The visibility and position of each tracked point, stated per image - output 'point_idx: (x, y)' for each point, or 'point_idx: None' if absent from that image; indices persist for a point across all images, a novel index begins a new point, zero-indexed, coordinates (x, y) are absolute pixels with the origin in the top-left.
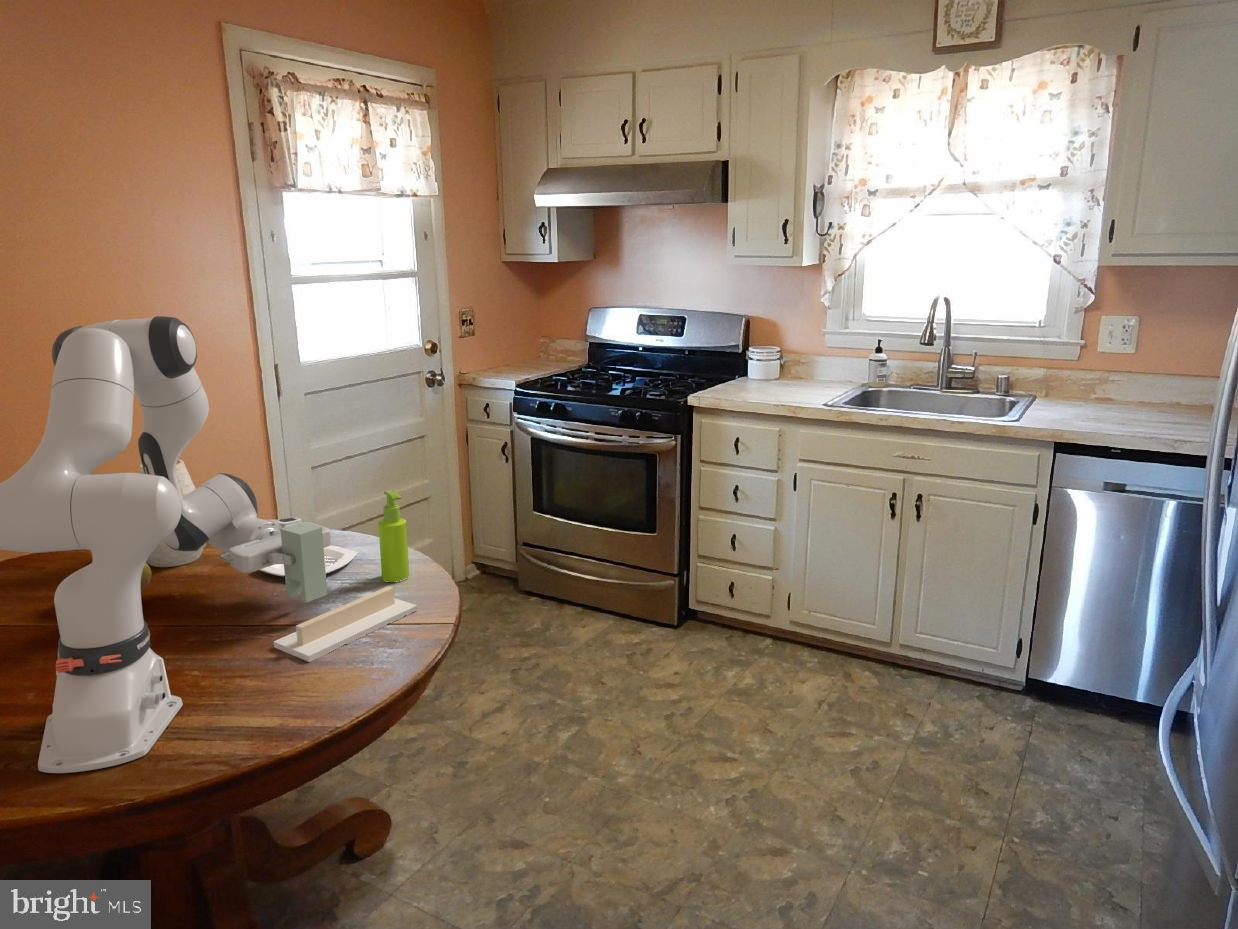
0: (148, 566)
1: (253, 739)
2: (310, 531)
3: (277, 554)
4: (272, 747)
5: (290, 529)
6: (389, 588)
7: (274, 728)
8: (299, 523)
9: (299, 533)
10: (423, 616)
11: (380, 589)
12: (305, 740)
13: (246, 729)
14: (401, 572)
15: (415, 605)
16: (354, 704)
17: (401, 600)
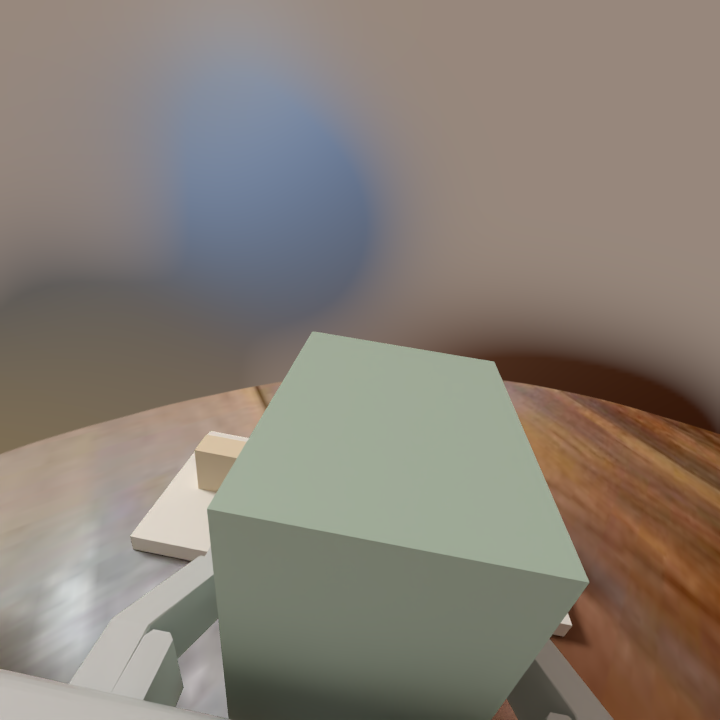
0: None
1: (669, 441)
2: (408, 347)
3: (570, 669)
4: (645, 418)
5: (490, 463)
6: (213, 440)
7: (635, 435)
8: (276, 502)
9: (486, 370)
10: (237, 424)
11: (225, 455)
12: (603, 401)
13: (678, 460)
14: None
15: (211, 432)
16: (521, 394)
17: (182, 468)
